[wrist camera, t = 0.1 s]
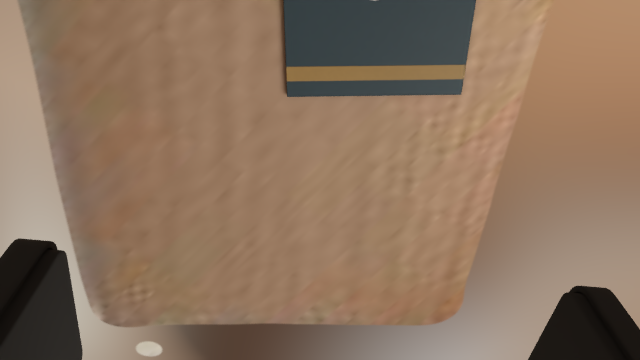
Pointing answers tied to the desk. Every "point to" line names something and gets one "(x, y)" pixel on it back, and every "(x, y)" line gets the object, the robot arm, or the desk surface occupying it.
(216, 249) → the desk surface
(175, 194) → the desk surface
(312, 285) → the desk surface
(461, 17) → the placemat
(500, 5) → the desk surface
